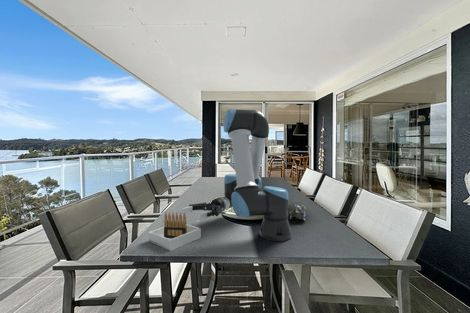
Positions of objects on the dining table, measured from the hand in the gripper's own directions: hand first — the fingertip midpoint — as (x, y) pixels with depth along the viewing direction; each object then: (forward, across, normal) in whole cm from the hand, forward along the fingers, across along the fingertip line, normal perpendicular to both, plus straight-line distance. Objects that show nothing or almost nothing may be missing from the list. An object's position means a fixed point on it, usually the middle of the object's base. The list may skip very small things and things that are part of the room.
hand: (191, 213), depth 124 cm
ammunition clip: (+10, 0, -9) cm, 13 cm away
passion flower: (-51, -32, -10) cm, 61 cm away
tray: (+10, 0, -10) cm, 14 cm away
